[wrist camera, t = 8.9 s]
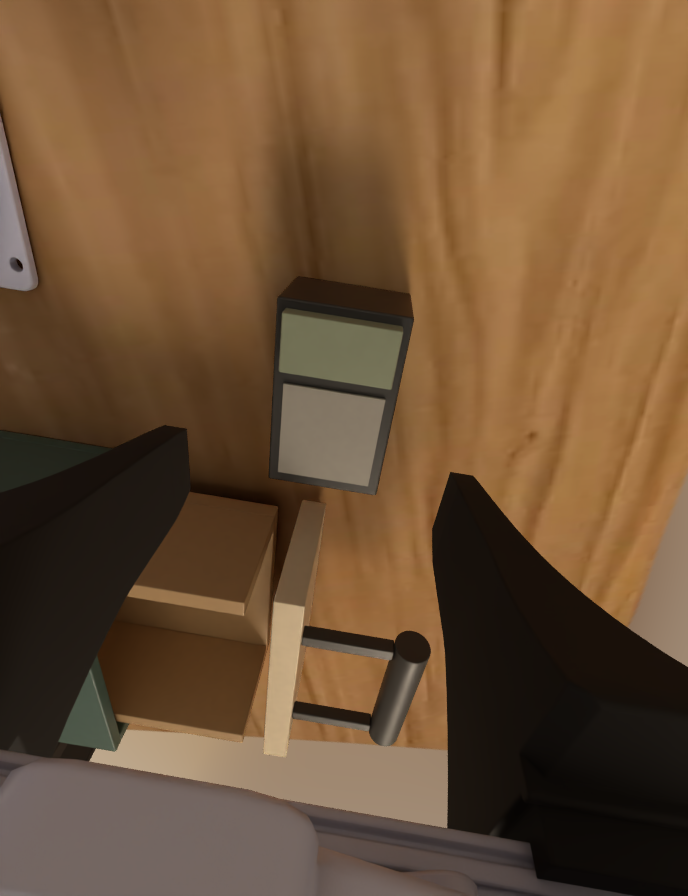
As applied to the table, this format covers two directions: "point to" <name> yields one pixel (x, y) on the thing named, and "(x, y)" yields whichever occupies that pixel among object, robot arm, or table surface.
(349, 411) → the dark rectangular block
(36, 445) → the cabinet
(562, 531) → the table surface
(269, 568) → the drawer
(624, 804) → the robot arm
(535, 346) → the table surface
